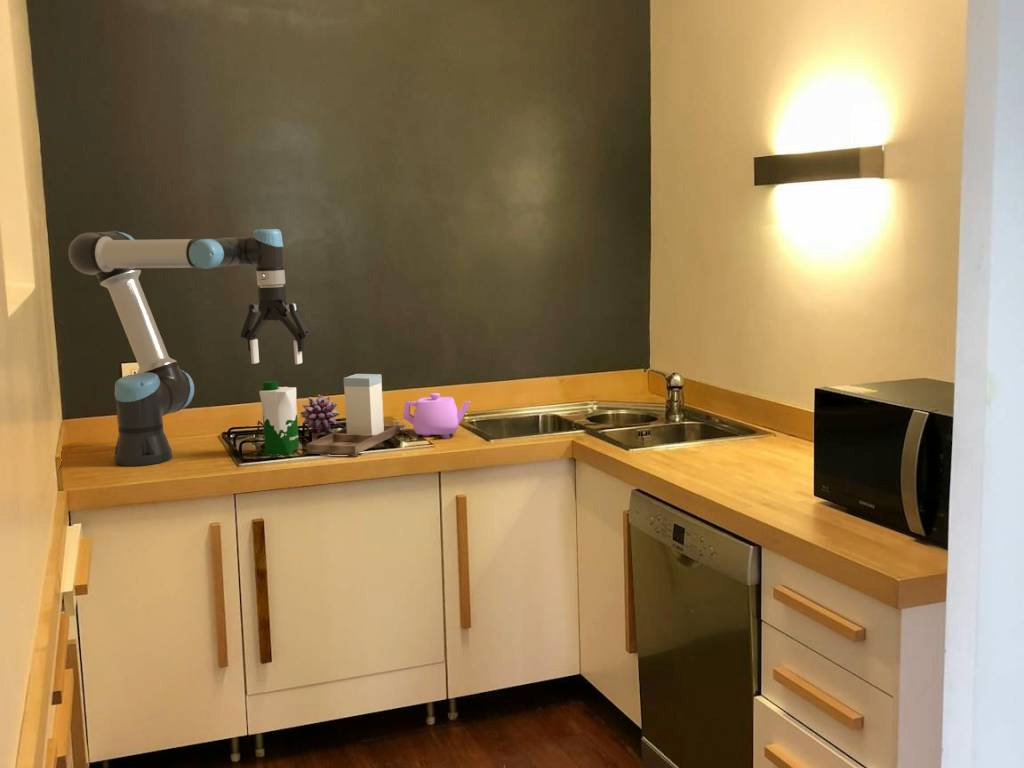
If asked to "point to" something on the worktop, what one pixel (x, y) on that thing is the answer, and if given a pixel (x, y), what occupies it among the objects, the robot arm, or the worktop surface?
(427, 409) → the teapot
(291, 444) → the soya milk
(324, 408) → the purple spiky ball
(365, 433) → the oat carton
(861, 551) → the worktop surface
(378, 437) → the tray
